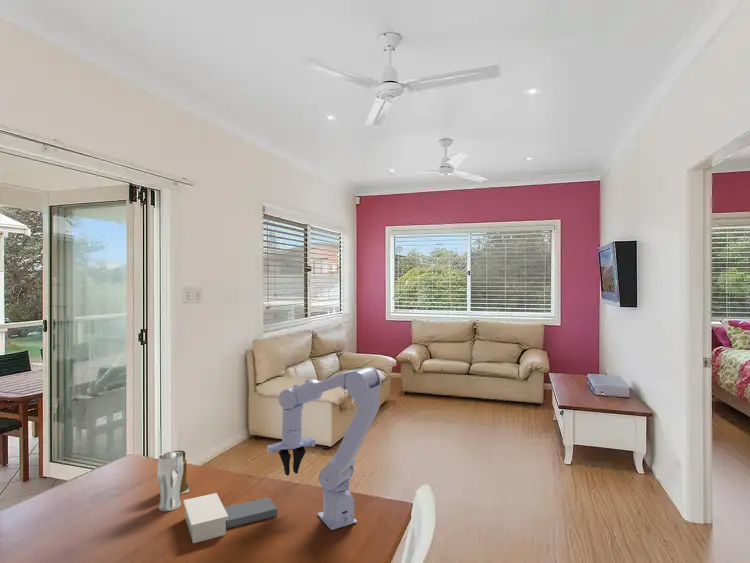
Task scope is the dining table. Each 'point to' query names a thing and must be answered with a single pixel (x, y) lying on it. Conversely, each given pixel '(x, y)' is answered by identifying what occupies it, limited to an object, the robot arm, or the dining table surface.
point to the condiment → (184, 476)
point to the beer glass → (170, 480)
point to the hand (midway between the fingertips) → (291, 473)
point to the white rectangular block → (205, 517)
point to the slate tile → (250, 512)
